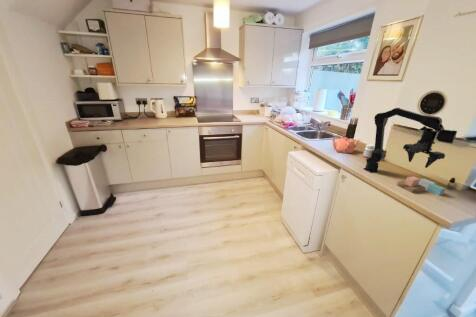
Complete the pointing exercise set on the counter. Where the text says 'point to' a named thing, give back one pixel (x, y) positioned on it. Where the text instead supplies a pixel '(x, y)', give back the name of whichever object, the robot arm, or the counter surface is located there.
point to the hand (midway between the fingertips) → (417, 164)
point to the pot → (344, 145)
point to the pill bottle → (368, 151)
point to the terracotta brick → (412, 181)
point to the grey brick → (425, 182)
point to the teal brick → (436, 189)
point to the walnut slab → (411, 187)
